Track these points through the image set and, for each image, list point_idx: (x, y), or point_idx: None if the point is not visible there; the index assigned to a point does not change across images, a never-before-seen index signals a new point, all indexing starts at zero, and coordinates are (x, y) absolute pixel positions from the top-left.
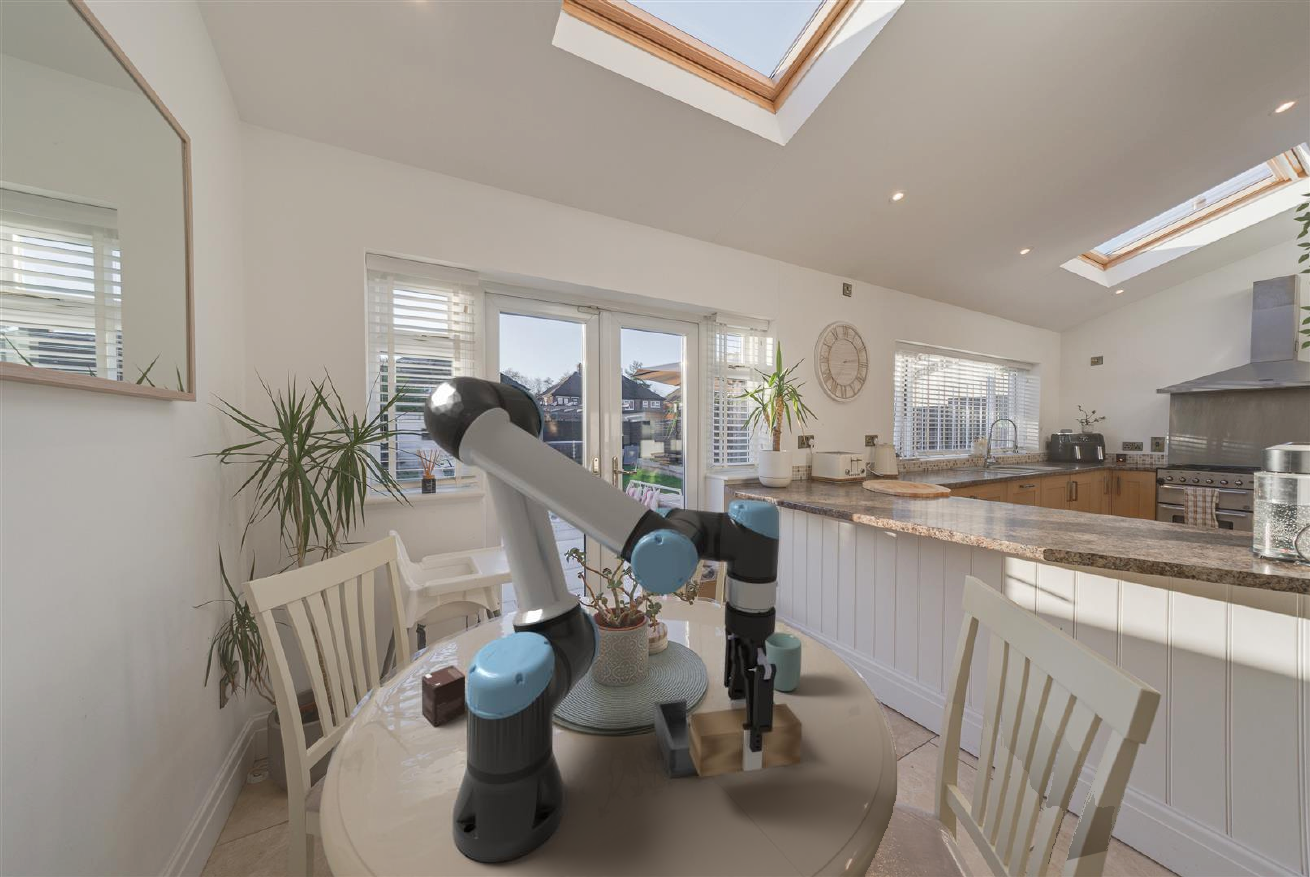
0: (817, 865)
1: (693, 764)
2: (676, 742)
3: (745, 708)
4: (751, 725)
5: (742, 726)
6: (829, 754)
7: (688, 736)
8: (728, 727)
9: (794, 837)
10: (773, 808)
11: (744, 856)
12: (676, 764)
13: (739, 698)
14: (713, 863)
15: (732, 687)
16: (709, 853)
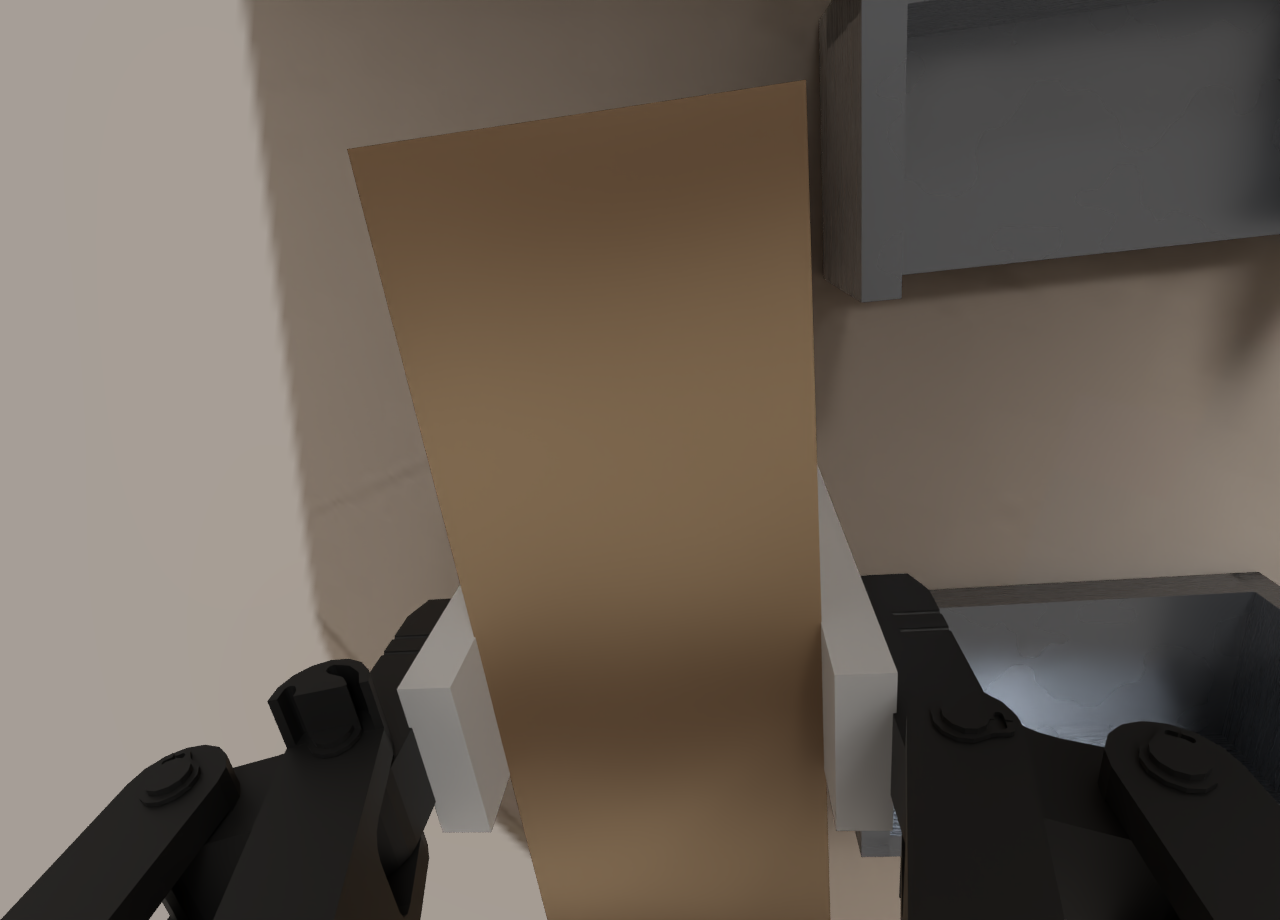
0: (315, 594)
1: (834, 189)
2: (1111, 101)
3: (819, 755)
4: (287, 764)
5: (535, 647)
6: (830, 859)
7: (1146, 210)
8: (518, 514)
9: (424, 565)
10: None
11: (325, 340)
12: (836, 49)
13: (896, 785)
14: (279, 187)
15: (910, 864)
16: (325, 178)
